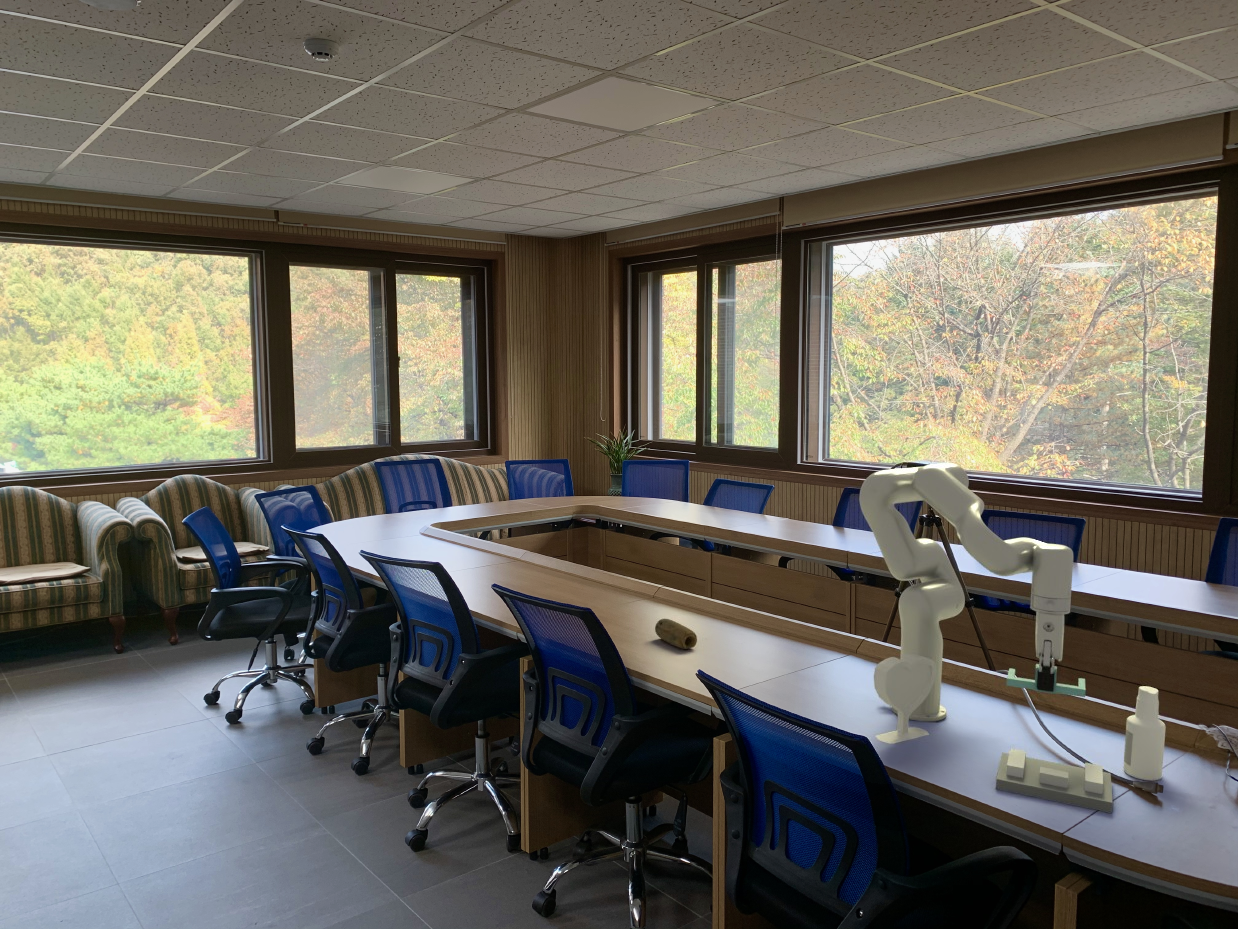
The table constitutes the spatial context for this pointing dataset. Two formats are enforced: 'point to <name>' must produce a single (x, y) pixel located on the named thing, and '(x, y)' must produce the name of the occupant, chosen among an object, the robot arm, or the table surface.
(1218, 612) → the table surface
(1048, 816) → the table surface
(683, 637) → the stone weight
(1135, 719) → the white bottle
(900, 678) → the heart sculpture
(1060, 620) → the robot arm
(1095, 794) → the stand
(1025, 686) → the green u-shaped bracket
